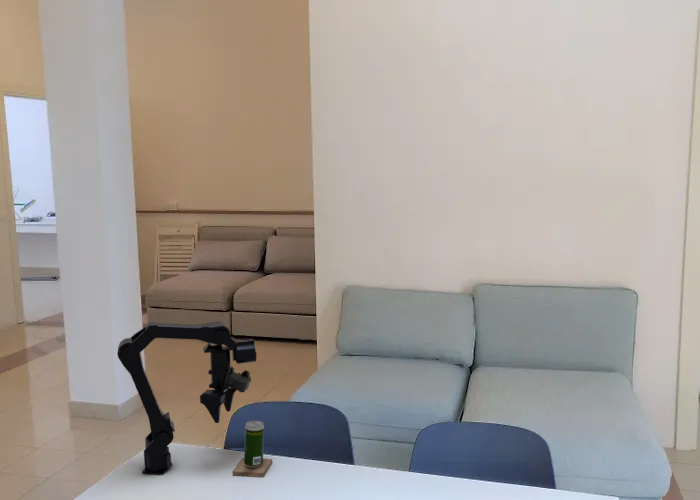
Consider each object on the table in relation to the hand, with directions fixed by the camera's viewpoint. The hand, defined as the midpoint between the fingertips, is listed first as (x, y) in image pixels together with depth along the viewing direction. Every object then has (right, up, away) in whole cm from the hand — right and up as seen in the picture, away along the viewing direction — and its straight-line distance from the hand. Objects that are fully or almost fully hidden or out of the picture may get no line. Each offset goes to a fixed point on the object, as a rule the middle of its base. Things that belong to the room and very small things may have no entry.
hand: (222, 416), depth 190 cm
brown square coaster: (+10, -14, -6) cm, 18 cm away
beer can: (+10, -12, -6) cm, 17 cm away
